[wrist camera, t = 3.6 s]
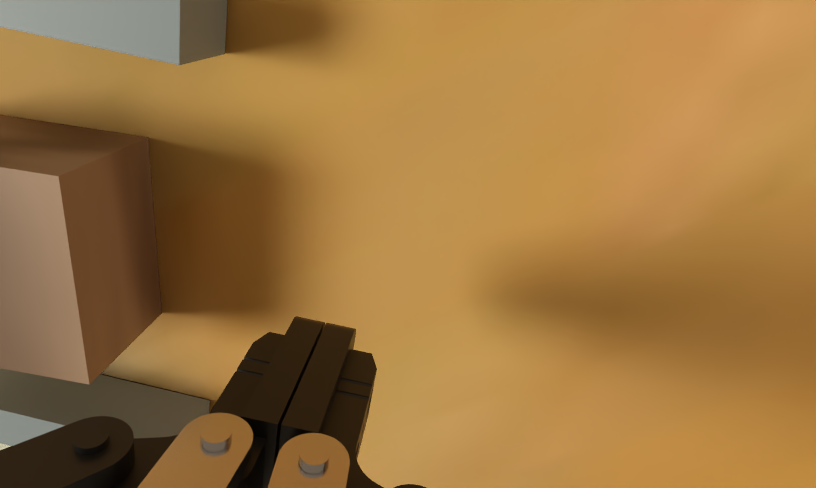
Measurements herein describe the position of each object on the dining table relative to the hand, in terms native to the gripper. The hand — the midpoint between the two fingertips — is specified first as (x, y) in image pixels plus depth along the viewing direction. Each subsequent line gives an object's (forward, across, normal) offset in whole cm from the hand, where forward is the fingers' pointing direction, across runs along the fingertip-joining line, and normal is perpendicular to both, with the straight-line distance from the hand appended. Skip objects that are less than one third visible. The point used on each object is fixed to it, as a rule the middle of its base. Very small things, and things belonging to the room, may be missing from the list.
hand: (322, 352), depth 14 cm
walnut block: (+4, +9, 0) cm, 10 cm away
